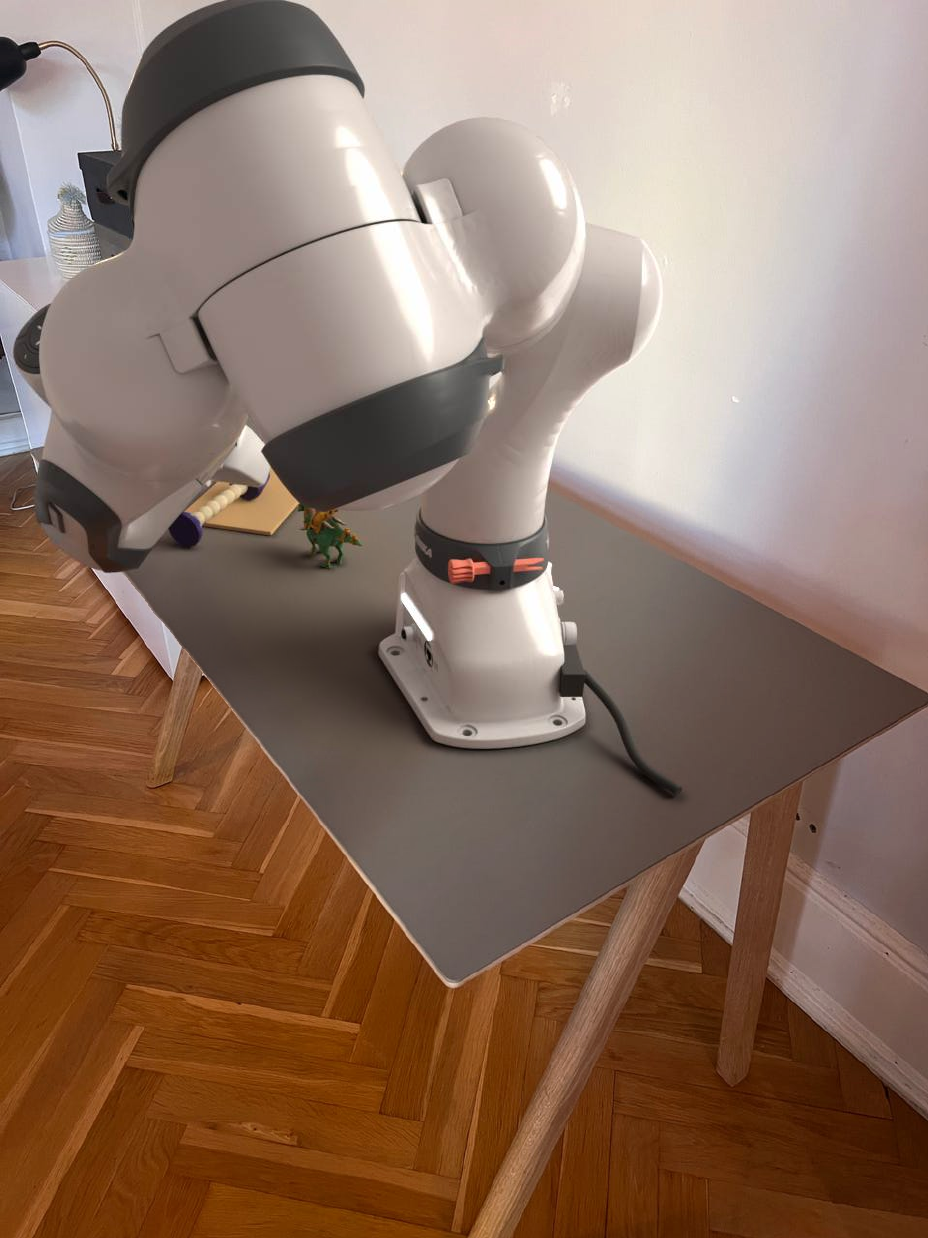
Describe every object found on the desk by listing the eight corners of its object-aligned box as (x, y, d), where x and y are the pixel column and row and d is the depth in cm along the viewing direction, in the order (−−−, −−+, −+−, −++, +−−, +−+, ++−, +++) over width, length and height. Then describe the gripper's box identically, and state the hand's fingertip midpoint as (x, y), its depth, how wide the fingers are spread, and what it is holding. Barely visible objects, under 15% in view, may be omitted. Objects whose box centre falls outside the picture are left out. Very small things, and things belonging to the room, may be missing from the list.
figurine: (312, 539, 107) (308, 475, 102) (374, 580, 100) (373, 512, 95) (289, 547, 105) (285, 481, 101) (351, 588, 98) (349, 520, 93)
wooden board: (271, 535, 107) (270, 531, 107) (176, 522, 109) (176, 518, 109) (350, 445, 132) (350, 441, 132) (272, 435, 134) (271, 432, 134)
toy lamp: (207, 548, 103) (280, 488, 116) (197, 511, 101) (272, 454, 114) (172, 546, 105) (247, 487, 118) (161, 509, 102) (239, 453, 115)
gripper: (33, 439, 88) (105, 492, 101) (231, 467, 84) (279, 518, 98) (52, 380, 89) (120, 440, 102) (247, 405, 86) (292, 463, 99)
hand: (199, 478), depth 100 cm, fingers closed
